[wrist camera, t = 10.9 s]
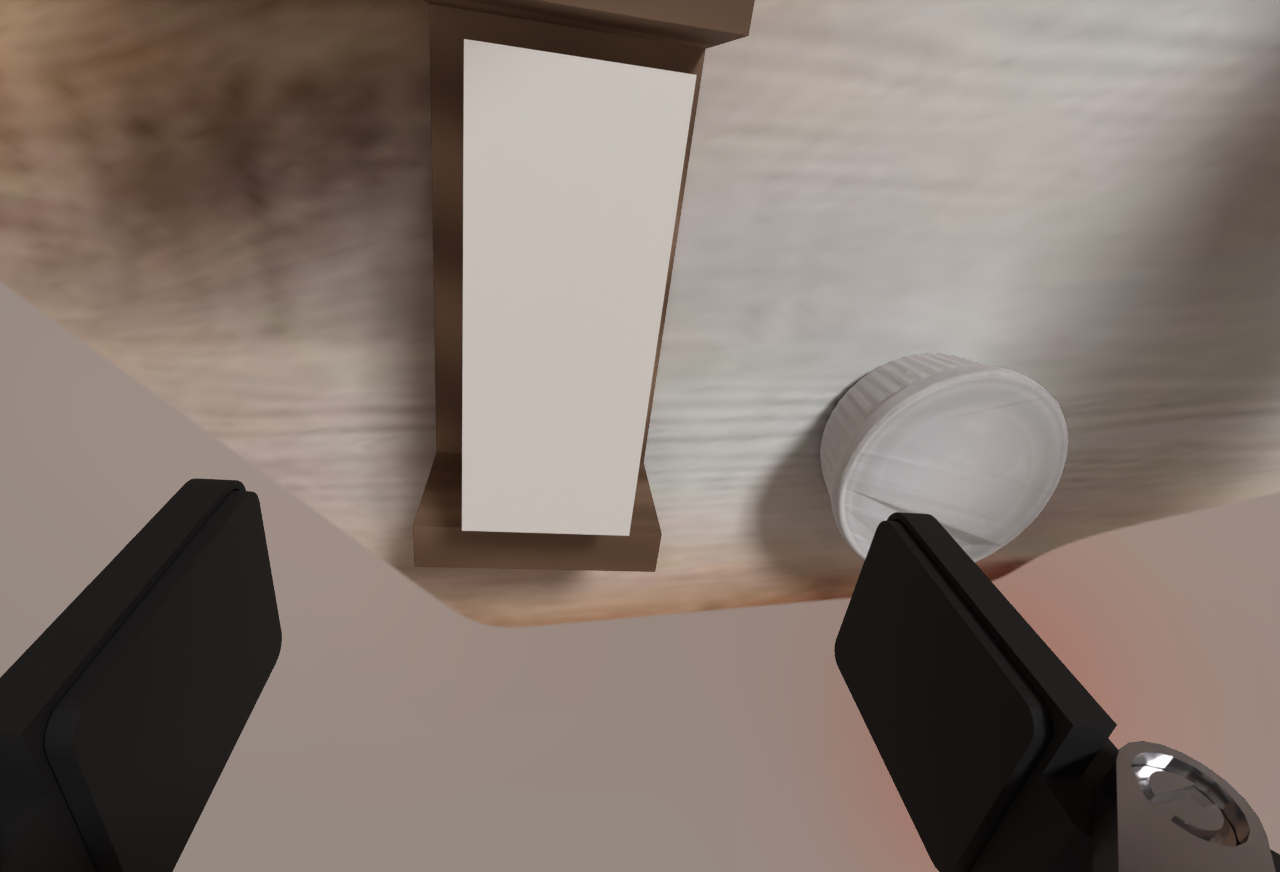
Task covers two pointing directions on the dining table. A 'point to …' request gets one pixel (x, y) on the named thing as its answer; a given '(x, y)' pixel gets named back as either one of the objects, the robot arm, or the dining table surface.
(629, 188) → the shelf board
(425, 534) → the peg frame
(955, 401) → the ramekin
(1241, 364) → the dining table surface
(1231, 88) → the dining table surface
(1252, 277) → the dining table surface
